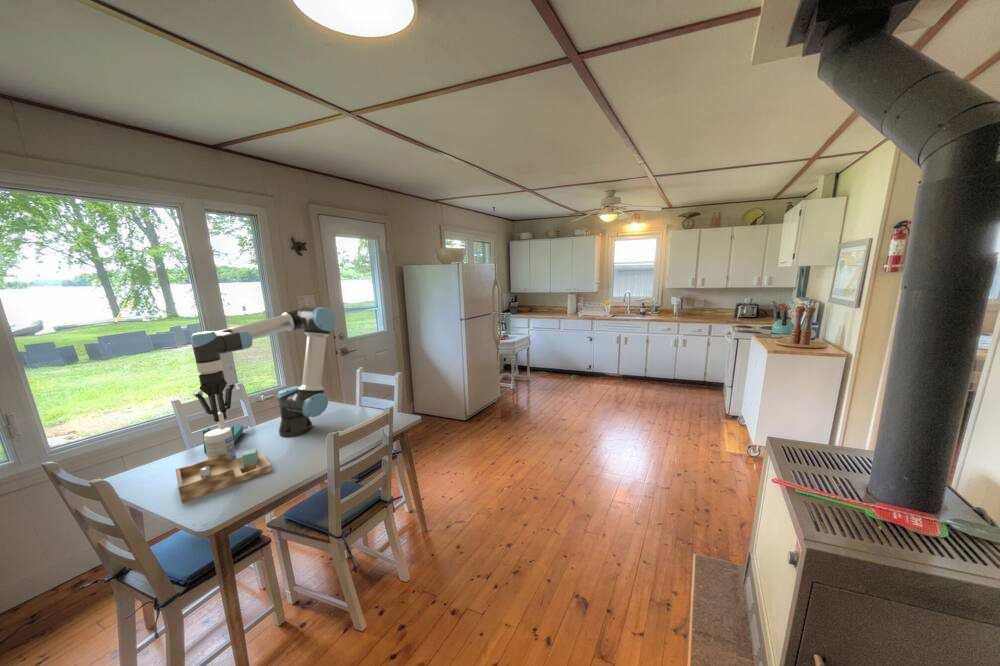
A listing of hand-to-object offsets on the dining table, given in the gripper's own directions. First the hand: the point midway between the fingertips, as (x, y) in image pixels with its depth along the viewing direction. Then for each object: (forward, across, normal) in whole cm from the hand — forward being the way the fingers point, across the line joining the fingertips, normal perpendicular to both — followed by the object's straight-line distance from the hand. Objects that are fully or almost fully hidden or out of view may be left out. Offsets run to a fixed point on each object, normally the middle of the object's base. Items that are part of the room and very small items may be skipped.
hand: (222, 428), depth 143 cm
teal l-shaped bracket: (+20, -12, -36) cm, 43 cm away
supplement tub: (+20, -2, -12) cm, 23 cm away
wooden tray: (+20, +3, +2) cm, 20 cm away
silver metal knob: (+17, +10, +6) cm, 20 cm away
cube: (+17, -6, +3) cm, 19 cm away
